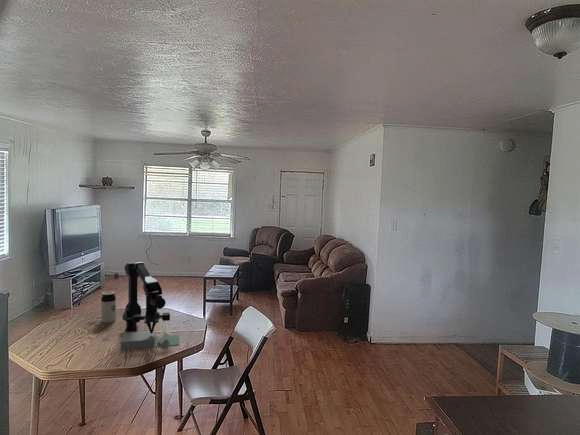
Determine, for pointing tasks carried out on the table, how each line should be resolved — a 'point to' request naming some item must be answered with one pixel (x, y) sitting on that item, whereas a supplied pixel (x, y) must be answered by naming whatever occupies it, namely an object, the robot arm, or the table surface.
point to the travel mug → (108, 307)
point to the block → (163, 335)
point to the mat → (168, 341)
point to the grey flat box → (138, 340)
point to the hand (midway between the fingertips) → (151, 333)
